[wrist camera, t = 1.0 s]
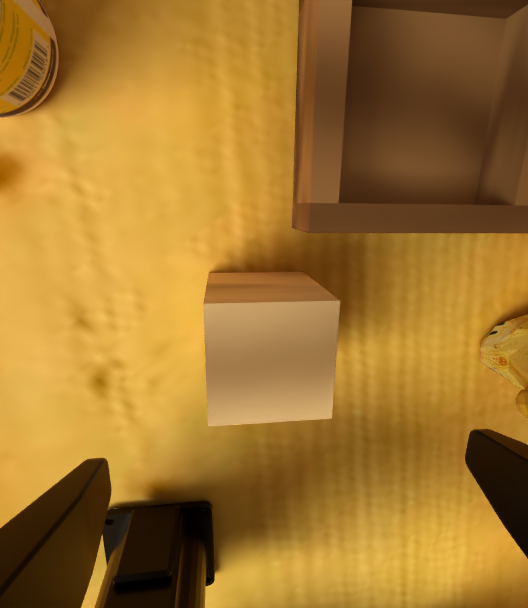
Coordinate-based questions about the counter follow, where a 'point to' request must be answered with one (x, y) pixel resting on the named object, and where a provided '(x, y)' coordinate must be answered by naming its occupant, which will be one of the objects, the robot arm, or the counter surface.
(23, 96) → the supplement bottle
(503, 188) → the bin
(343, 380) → the counter surface
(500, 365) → the chocolate bunny
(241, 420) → the cream cube
